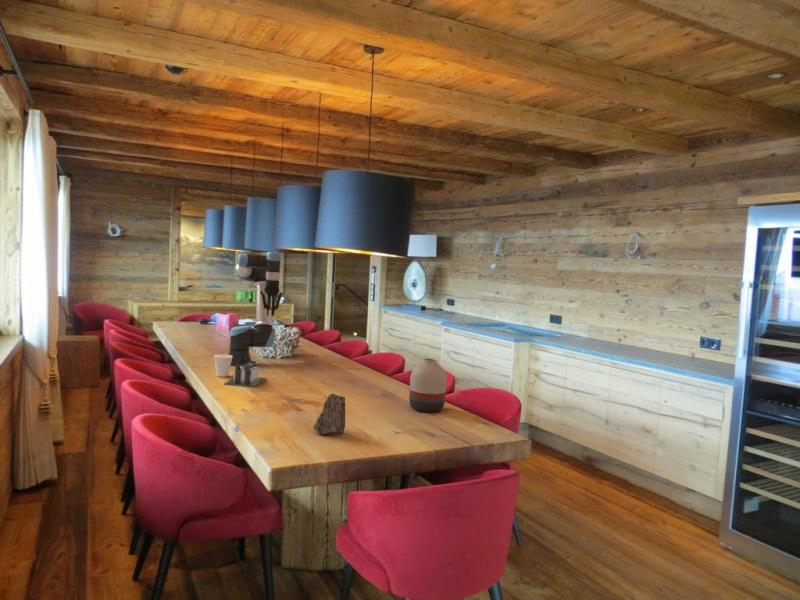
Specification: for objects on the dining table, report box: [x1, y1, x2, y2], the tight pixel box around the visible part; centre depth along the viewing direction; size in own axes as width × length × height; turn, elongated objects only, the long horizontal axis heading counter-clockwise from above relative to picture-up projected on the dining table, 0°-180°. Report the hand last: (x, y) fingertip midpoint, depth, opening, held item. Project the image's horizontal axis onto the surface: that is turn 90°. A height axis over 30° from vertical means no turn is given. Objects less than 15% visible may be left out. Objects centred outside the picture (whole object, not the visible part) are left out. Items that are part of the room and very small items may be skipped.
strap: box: [239, 362, 254, 370], centre depth 300 cm, size 15×3×1 cm, turn 175°
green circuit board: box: [223, 360, 268, 388], centre depth 301 cm, size 20×16×10 cm
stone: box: [313, 393, 346, 436], centre depth 221 cm, size 13×13×15 cm
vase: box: [408, 358, 448, 413], centre depth 268 cm, size 17×17×24 cm
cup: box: [213, 354, 233, 378], centre depth 312 cm, size 10×10×11 cm
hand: (270, 321), depth 322 cm, fingers closed
